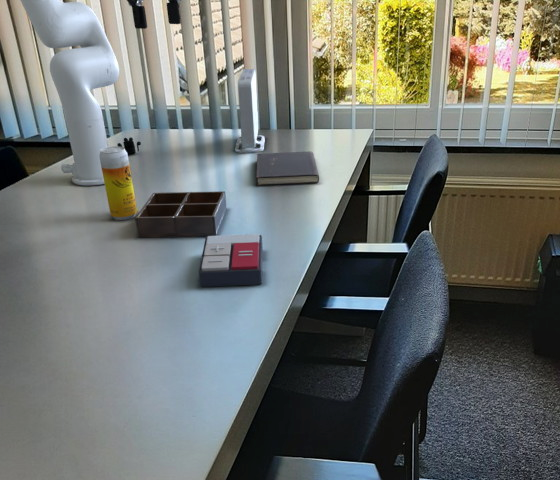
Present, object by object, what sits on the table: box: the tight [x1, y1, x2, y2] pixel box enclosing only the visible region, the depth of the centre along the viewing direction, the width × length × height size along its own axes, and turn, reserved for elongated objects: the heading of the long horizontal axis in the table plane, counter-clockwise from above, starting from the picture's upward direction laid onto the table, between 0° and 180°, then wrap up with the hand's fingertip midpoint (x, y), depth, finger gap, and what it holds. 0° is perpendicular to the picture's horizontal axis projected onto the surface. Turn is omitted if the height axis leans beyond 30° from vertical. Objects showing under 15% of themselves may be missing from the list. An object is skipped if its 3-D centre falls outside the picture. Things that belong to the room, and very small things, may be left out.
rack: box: [134, 190, 228, 238], centre depth 137 cm, size 17×17×4 cm
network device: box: [234, 68, 266, 154], centre depth 189 cm, size 26×9×20 cm, turn 179°
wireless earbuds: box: [117, 136, 142, 156], centre depth 188 cm, size 7×2×5 cm, turn 99°
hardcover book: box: [255, 150, 320, 187], centre depth 167 cm, size 16×23×2 cm
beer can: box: [99, 145, 138, 221], centre depth 139 cm, size 6×6×15 cm
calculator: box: [198, 233, 264, 288], centre depth 115 cm, size 11×4×15 cm
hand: (158, 26), depth 131 cm, fingers open, 9 cm apart
